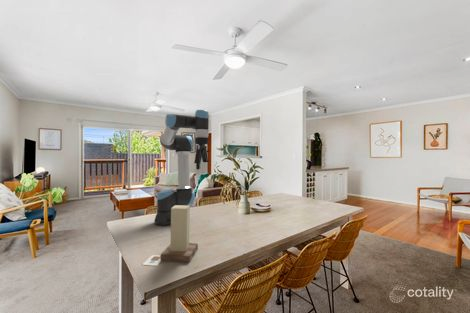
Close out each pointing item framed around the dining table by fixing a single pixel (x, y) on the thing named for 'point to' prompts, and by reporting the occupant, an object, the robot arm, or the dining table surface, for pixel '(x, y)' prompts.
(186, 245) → the toy refrigerator
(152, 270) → the dining table surface
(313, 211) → the dining table surface
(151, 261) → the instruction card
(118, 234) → the dining table surface
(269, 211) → the dining table surface
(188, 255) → the walnut plinth
